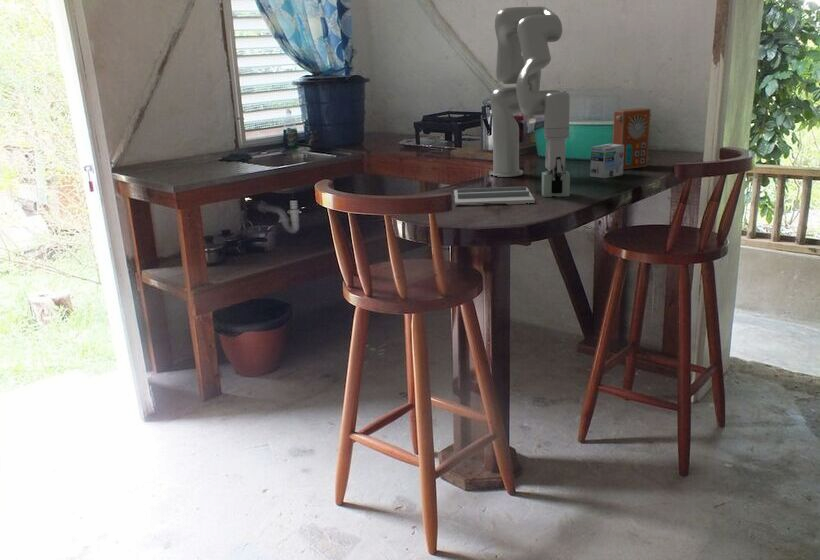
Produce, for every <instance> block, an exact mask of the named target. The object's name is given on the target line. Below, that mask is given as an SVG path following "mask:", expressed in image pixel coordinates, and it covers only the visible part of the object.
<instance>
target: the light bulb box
mask: <svg viewBox="0 0 820 560" xmlns="http://www.w3.org/2000/svg"><path fill="white" fill-rule="evenodd" d="M590 147H591V148H590V172H589V173H590V174H589V176H590V177H593V178H600V179H607V178H613V177H619V176H623V174H624V169H623V162H624V145H618V144H613V143H605V144H601V145H595V146H594V145H593V146H590Z"/></svg>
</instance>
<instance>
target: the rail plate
mask: <svg viewBox="0 0 820 560" xmlns="http://www.w3.org/2000/svg"><path fill="white" fill-rule="evenodd" d="M453 195H454V196H455V198H454V205H455V204H468V203H469V204H476V203H506V204H508V205H530V204H529V203H536V202H535V201H536V199H535V198H534V196H533V195H532V193H531V192H530V190H529V188H528V187H527V186H524V185H523V186H505V187H503V186H500V187H477V188H476V187H475V188H473V187H472V188H457V189H453ZM526 203H528V204H526Z"/></svg>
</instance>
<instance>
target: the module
mask: <svg viewBox="0 0 820 560" xmlns="http://www.w3.org/2000/svg"><path fill="white" fill-rule="evenodd" d="M555 174H556V173H555ZM552 181H553V171H549V170H544V171H543V172H541V195H542V197H543V196H544V198H546V197H548V198H550V197H551V198H553V197H552V196H556V197H570V192H571V191H570V188H571V187H570V185H571V184H570V183H571V173H570V172H569V171H568V170H565V169H564V170H563V171H562V193H552Z"/></svg>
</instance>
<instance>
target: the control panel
mask: <svg viewBox="0 0 820 560" xmlns="http://www.w3.org/2000/svg"><path fill="white" fill-rule="evenodd" d="M651 117H652V113H651V108H644V107H636V108H627V109H616V110H615V109H614V111H613V124H612V125H613V129H612V144H618V145H624V162H623V170H630V169H636V168H637V169H639V168H646V167H648V161H649V160H650V158H649V157H648V156H649V143H650V142H649V139H650V138H649V137H650V128H651V127H650V123H651Z"/></svg>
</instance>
